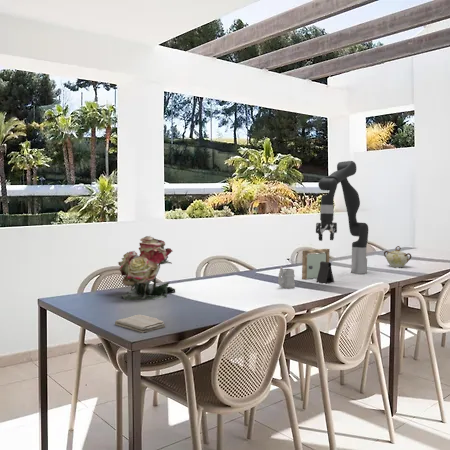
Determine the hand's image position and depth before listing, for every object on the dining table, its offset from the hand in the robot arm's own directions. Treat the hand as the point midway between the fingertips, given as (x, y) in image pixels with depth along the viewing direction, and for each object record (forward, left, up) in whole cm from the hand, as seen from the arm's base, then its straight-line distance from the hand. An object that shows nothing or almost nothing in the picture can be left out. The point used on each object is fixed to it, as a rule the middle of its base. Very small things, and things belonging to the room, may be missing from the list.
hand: (326, 240), depth 290 cm
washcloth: (+130, +37, -25) cm, 137 cm away
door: (-5, -13, -24) cm, 28 cm away
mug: (+31, +2, -25) cm, 40 cm away
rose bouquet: (+107, -15, -25) cm, 111 cm away
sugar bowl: (-89, -22, -25) cm, 95 cm away
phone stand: (0, 0, -25) cm, 25 cm away
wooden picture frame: (-5, -14, -25) cm, 29 cm away
